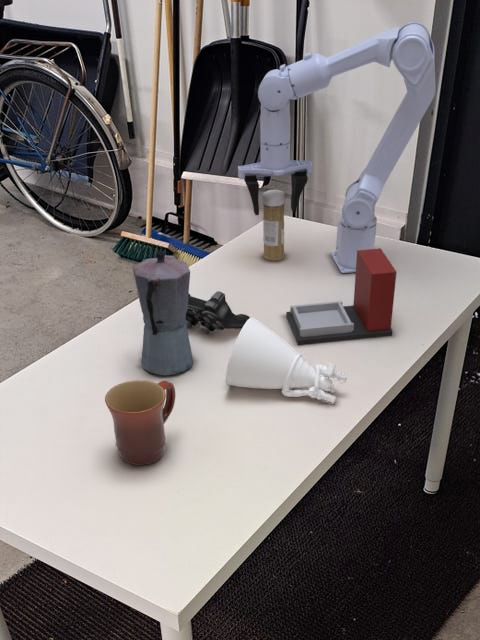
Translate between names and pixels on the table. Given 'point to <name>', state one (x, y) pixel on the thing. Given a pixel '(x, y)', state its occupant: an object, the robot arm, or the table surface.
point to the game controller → (213, 314)
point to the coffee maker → (351, 321)
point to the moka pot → (164, 313)
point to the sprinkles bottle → (273, 224)
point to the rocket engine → (276, 365)
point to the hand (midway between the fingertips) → (275, 211)
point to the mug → (140, 418)
